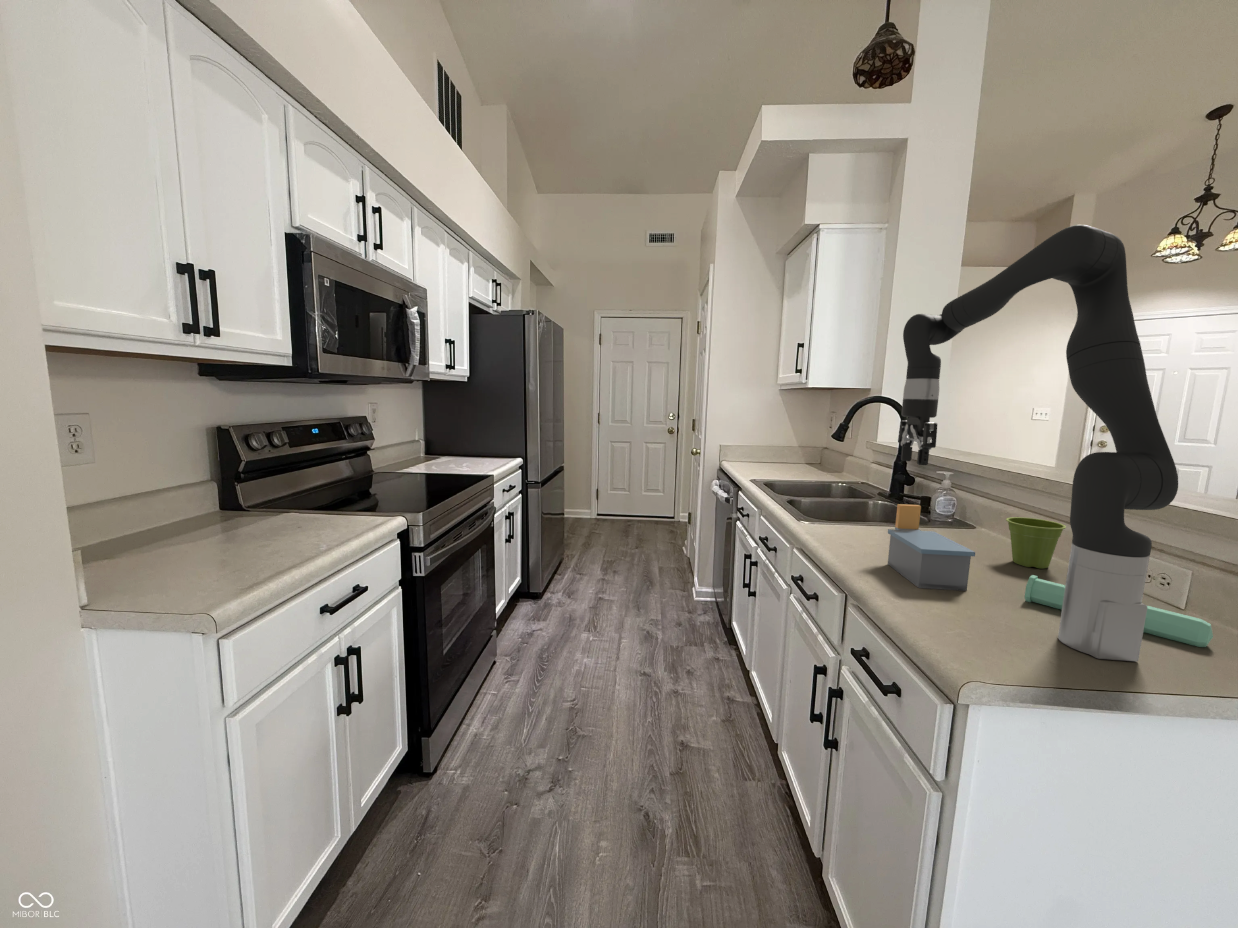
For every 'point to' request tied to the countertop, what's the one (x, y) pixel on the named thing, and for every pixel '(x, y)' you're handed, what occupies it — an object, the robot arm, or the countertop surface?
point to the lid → (923, 534)
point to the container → (1155, 622)
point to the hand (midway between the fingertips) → (913, 462)
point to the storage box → (929, 567)
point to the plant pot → (1033, 540)
